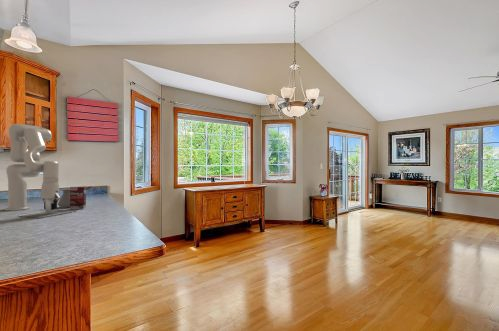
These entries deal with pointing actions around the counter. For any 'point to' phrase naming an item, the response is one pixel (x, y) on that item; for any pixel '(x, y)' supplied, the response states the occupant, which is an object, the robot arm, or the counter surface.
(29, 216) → the throwing mat
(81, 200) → the supplement box
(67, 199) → the coffee pot
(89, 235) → the counter surface
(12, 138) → the robot arm
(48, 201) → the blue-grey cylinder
